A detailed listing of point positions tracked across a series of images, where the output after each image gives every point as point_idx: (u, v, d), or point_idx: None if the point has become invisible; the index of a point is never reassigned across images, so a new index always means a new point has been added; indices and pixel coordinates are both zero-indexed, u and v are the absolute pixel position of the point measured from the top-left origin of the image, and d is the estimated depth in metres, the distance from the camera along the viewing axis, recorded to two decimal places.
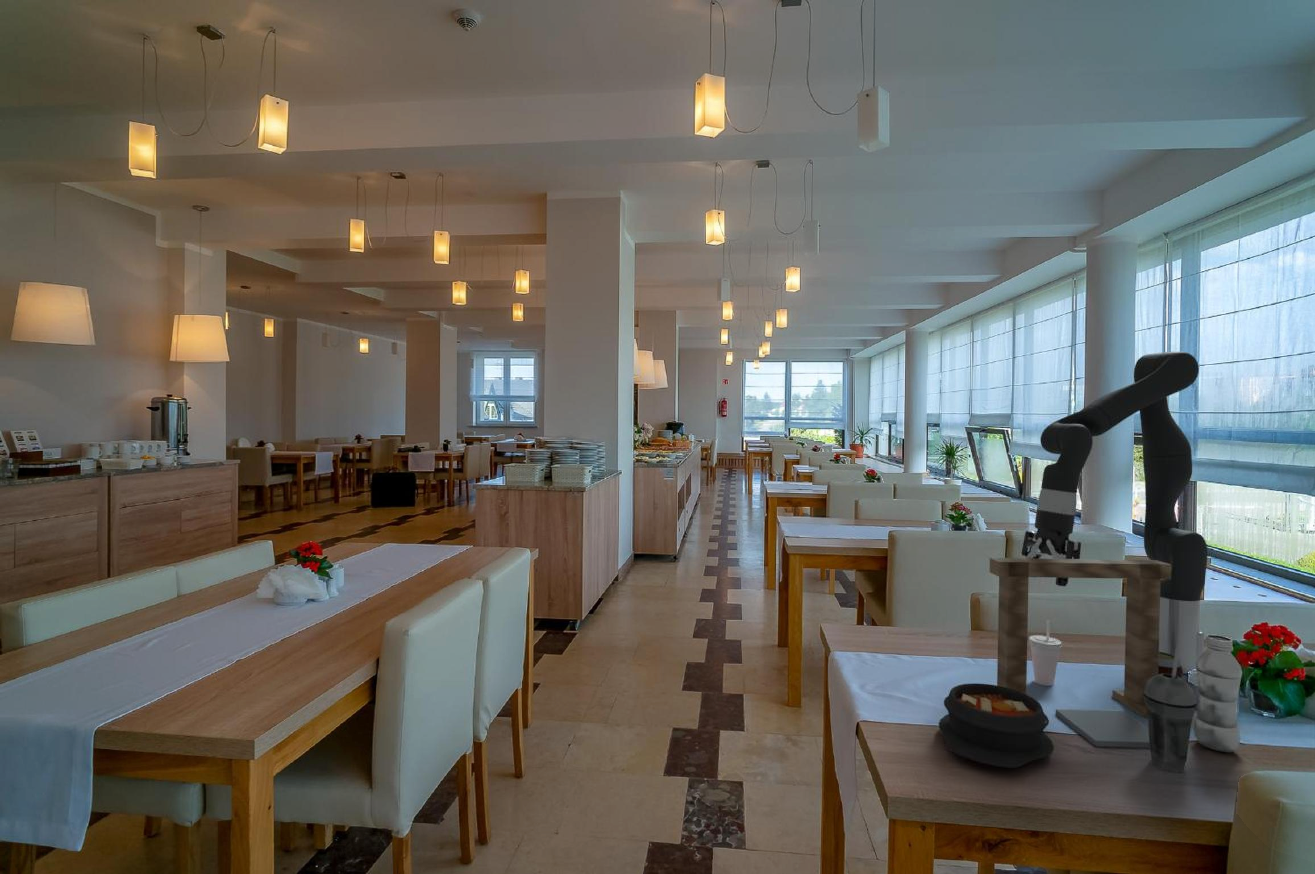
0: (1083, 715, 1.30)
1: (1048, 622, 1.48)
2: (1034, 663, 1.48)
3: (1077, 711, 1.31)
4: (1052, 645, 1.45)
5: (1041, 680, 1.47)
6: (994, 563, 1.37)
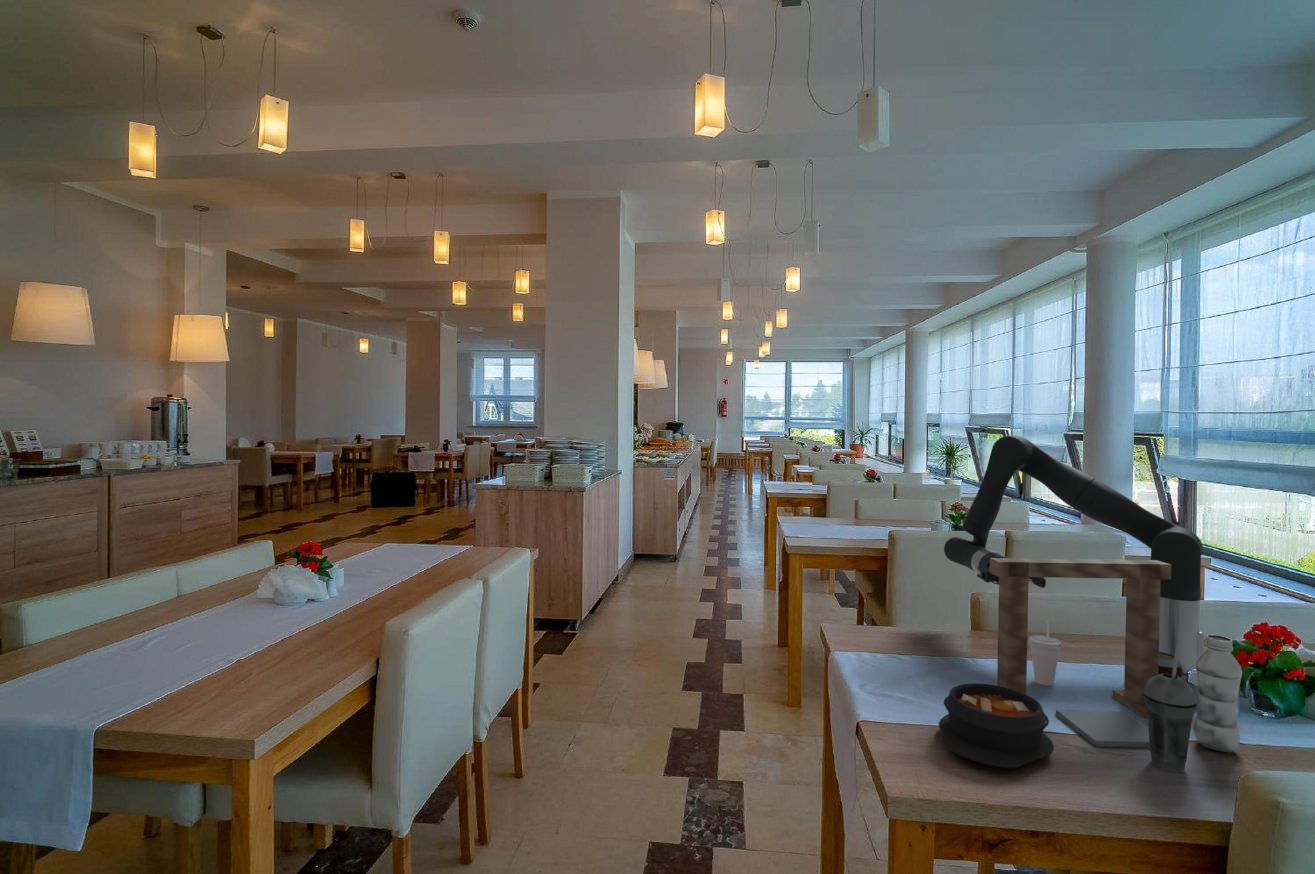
0: (1083, 715, 1.30)
1: (1048, 622, 1.48)
2: (1034, 663, 1.48)
3: (1077, 711, 1.31)
4: (1052, 645, 1.45)
5: (1041, 680, 1.47)
6: (994, 563, 1.37)
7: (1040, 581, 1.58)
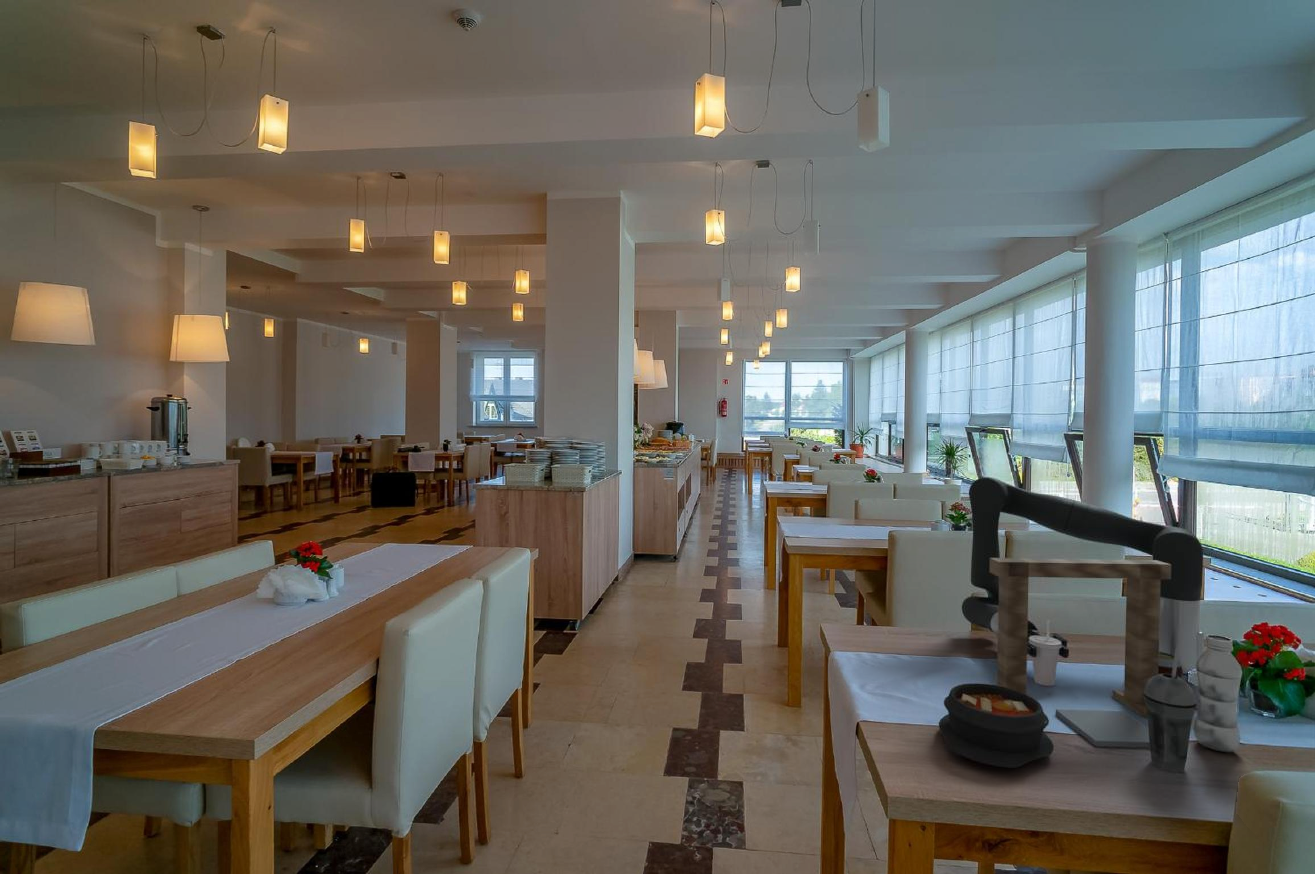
0: (1083, 715, 1.30)
1: (1048, 622, 1.48)
2: (1034, 663, 1.48)
3: (1077, 711, 1.31)
4: (1052, 645, 1.45)
5: (1041, 680, 1.47)
6: (994, 563, 1.37)
7: (1062, 650, 1.47)
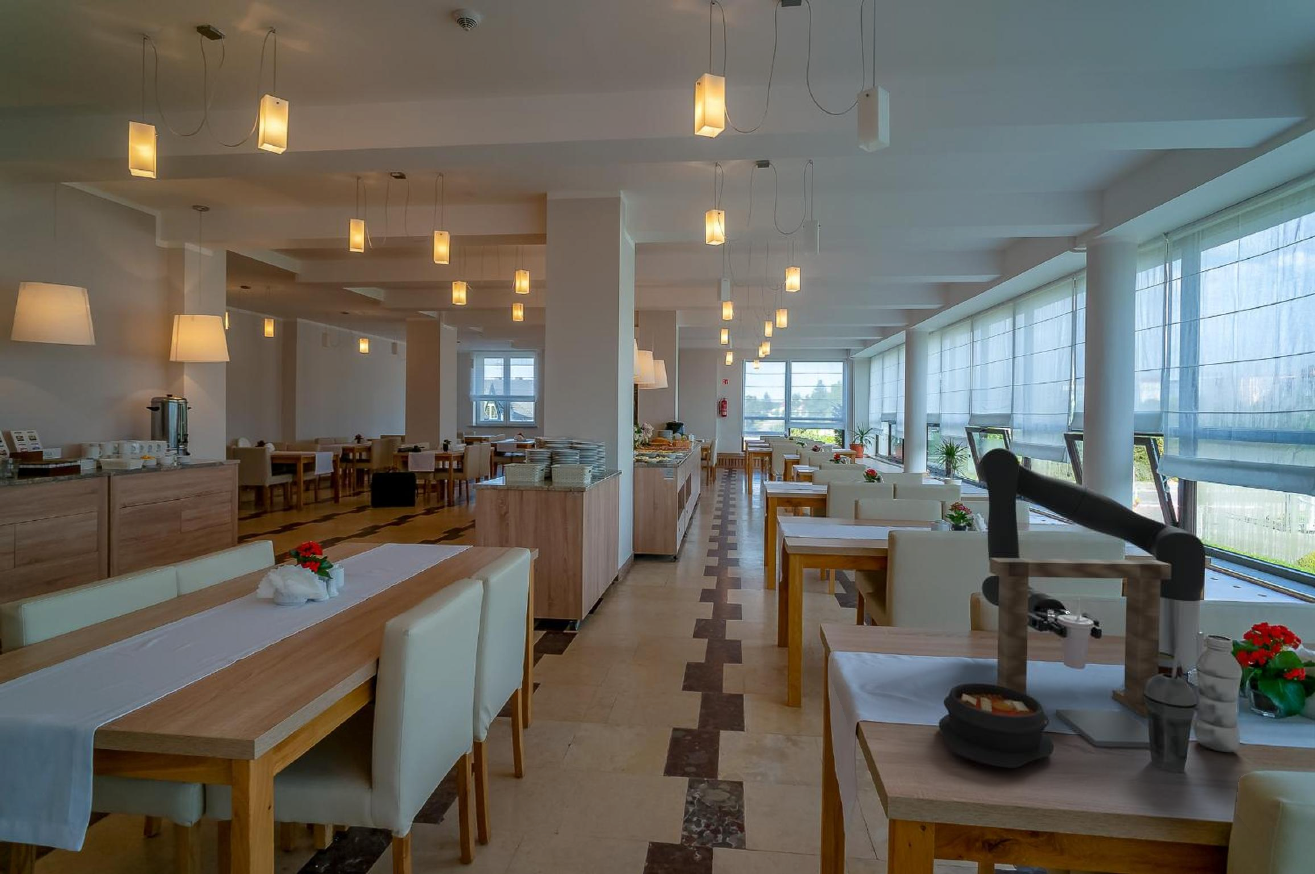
0: (1083, 715, 1.30)
1: (1079, 600, 1.36)
2: (1063, 644, 1.36)
3: (1077, 711, 1.31)
4: (1083, 625, 1.33)
5: (1071, 662, 1.35)
6: (994, 563, 1.37)
7: (1095, 631, 1.35)
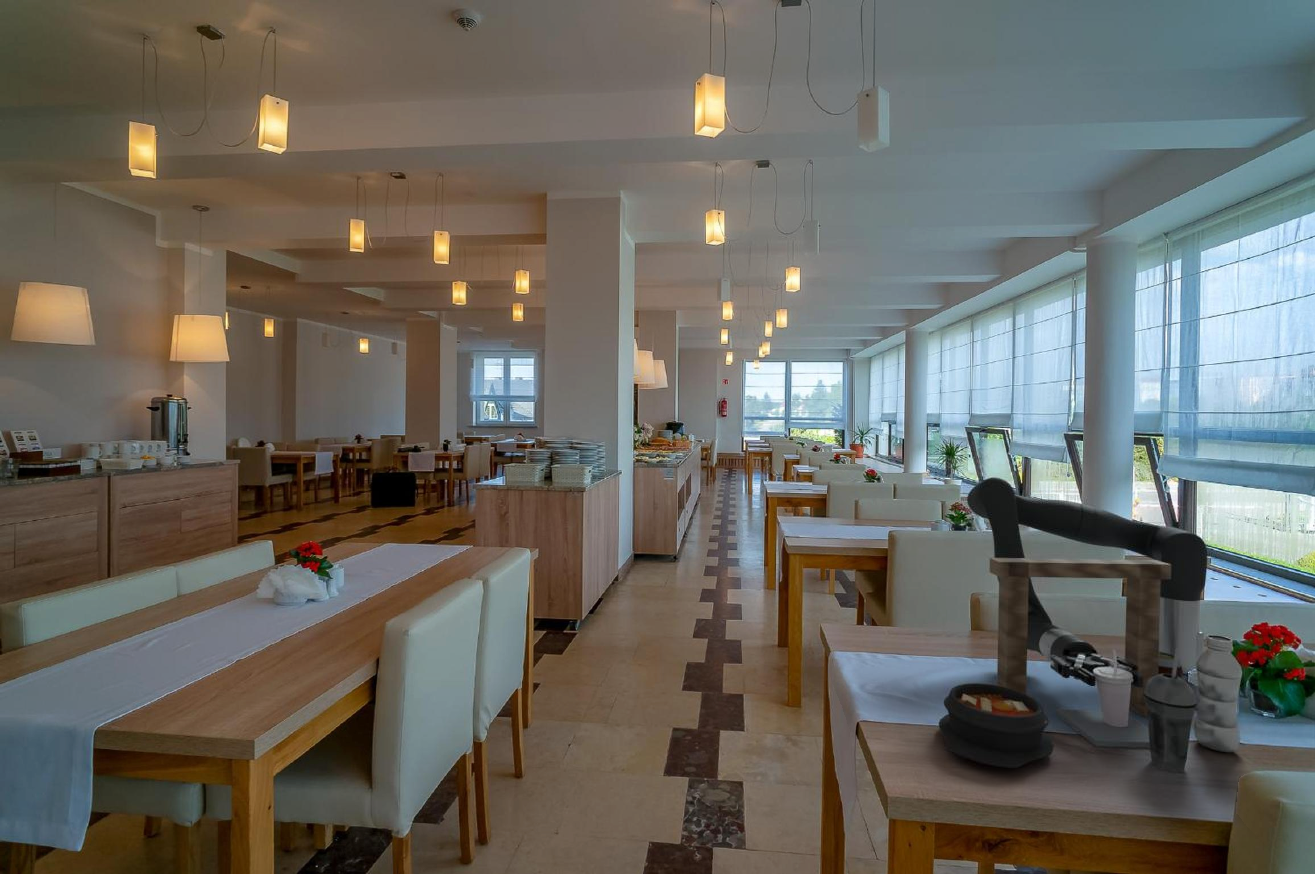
0: (1083, 715, 1.30)
1: (1114, 651, 1.26)
2: (1102, 701, 1.26)
3: (1077, 711, 1.31)
4: (1122, 679, 1.23)
5: (1113, 720, 1.25)
6: (994, 563, 1.37)
7: (1136, 679, 1.24)
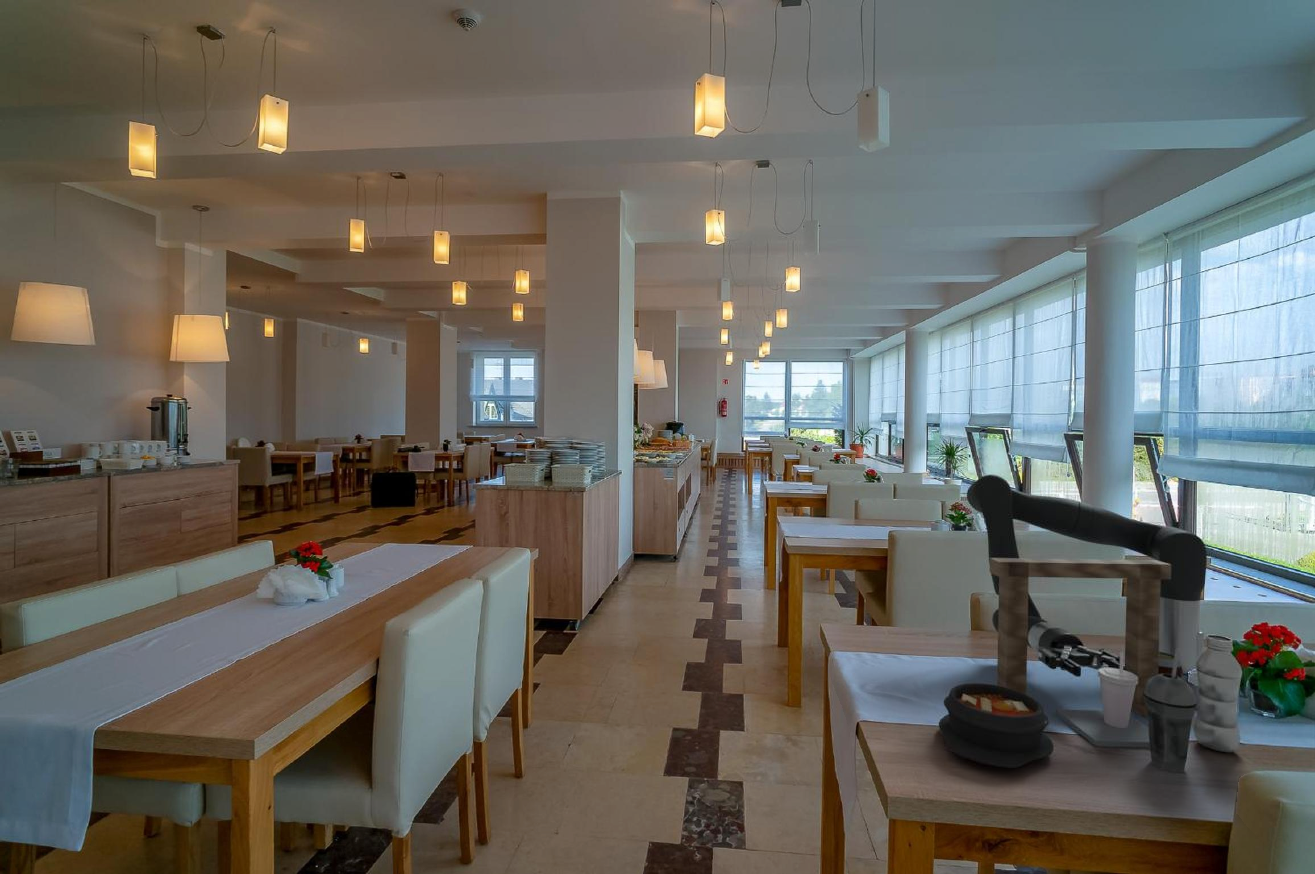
0: (1083, 715, 1.30)
1: (1122, 653, 1.25)
2: (1104, 701, 1.26)
3: (1077, 711, 1.31)
4: (1127, 681, 1.23)
5: (1113, 721, 1.25)
6: (994, 563, 1.37)
7: None
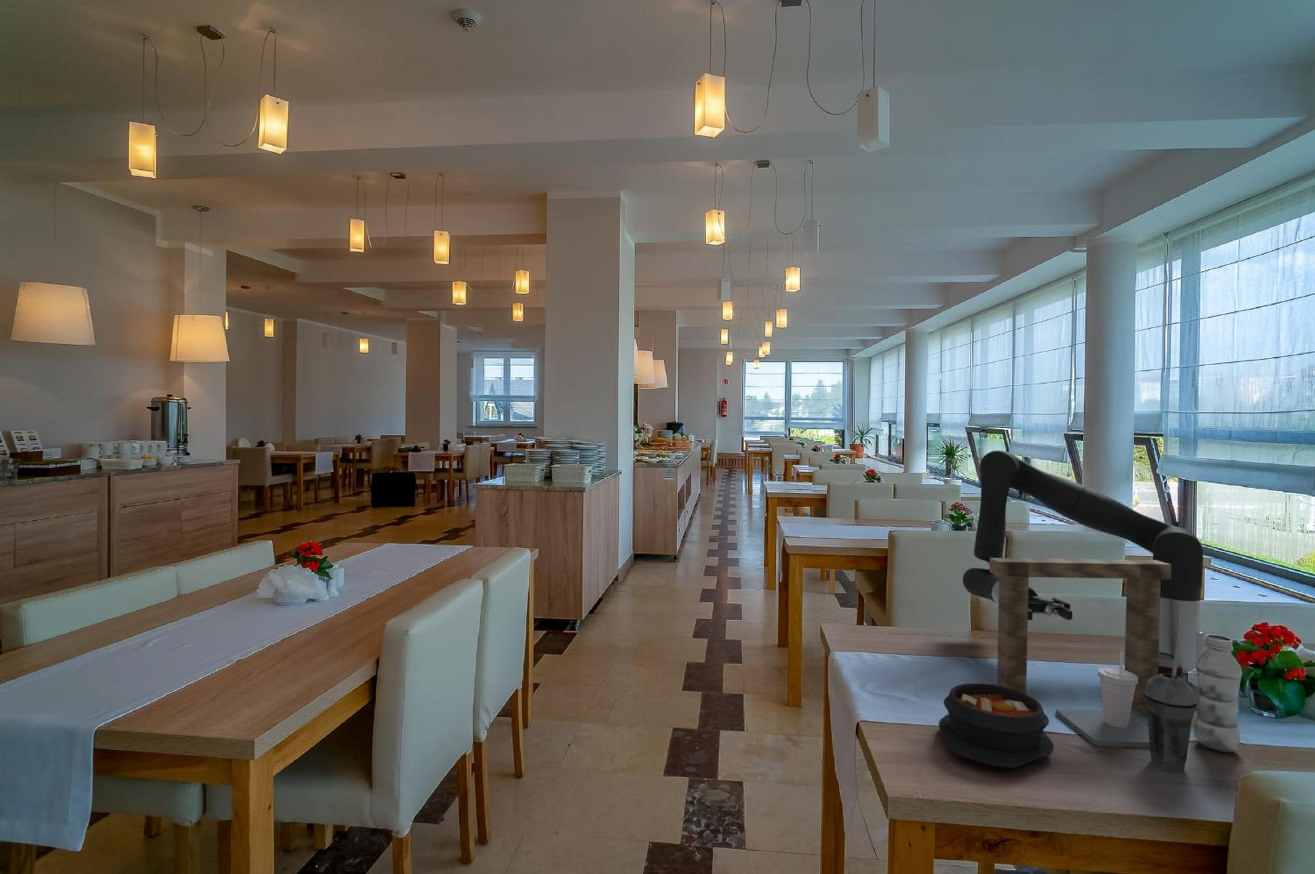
0: (1083, 715, 1.30)
1: (1122, 653, 1.25)
2: (1104, 701, 1.26)
3: (1077, 711, 1.31)
4: (1127, 681, 1.23)
5: (1113, 721, 1.25)
6: (994, 563, 1.37)
7: (1066, 613, 1.48)
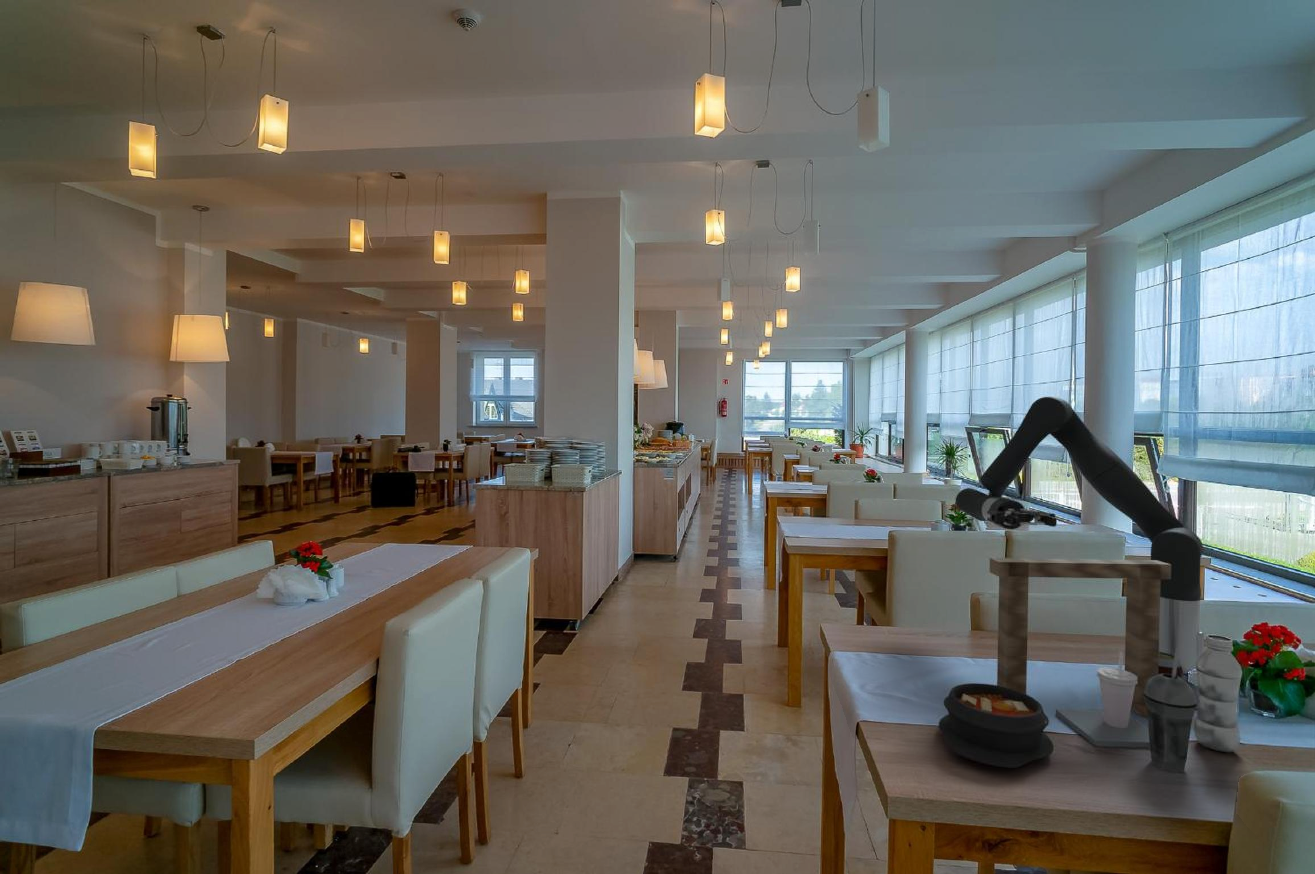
0: (1083, 715, 1.30)
1: (1121, 653, 1.25)
2: (1104, 701, 1.26)
3: (1077, 711, 1.31)
4: (1126, 681, 1.23)
5: (1113, 721, 1.25)
6: (994, 563, 1.37)
7: (1051, 520, 1.56)
